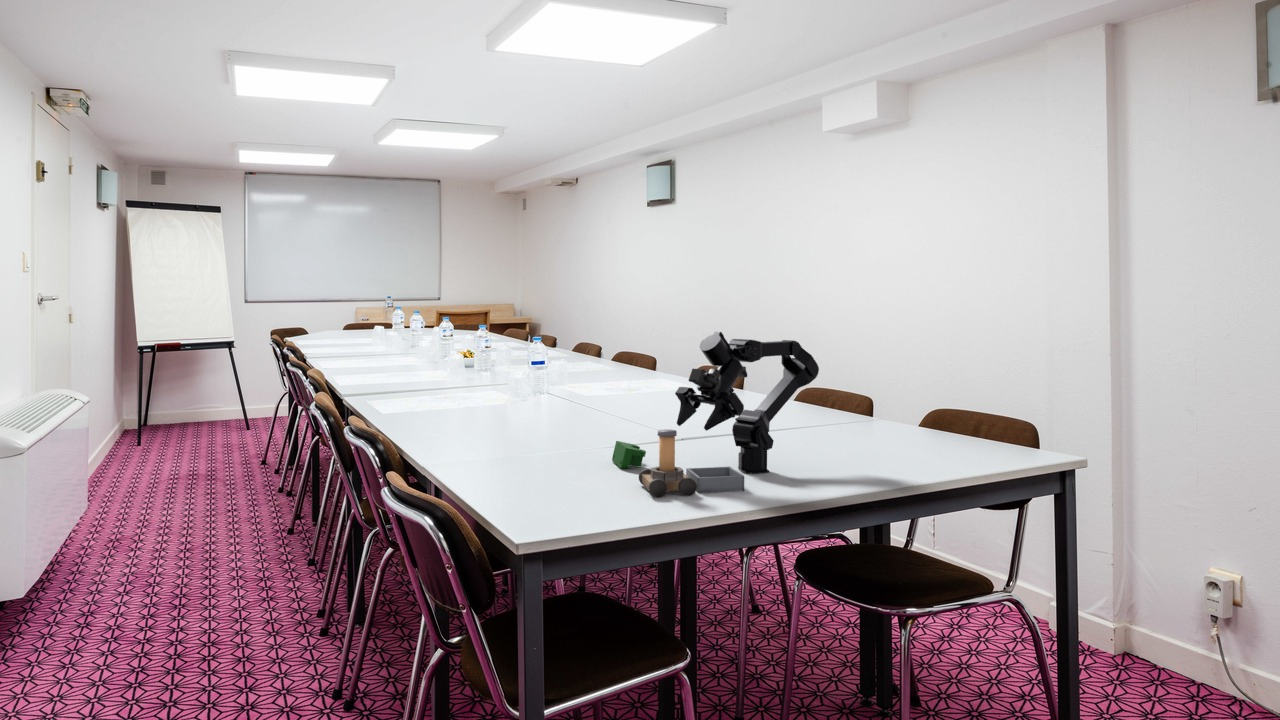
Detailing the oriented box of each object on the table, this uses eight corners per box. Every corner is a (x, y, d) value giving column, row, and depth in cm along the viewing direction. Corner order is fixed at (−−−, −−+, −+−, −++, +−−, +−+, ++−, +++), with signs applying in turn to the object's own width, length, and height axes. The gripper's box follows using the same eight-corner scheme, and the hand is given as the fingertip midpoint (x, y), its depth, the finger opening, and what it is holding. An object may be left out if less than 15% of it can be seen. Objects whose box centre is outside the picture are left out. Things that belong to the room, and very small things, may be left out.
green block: (637, 484, 218) (648, 456, 215) (615, 479, 217) (626, 451, 213) (631, 458, 229) (641, 431, 225) (611, 454, 227) (621, 427, 224)
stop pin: (673, 475, 194) (674, 429, 194) (678, 479, 190) (678, 432, 189) (655, 476, 193) (655, 429, 193) (659, 480, 189) (659, 432, 188)
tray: (729, 480, 202) (729, 466, 202) (744, 490, 192) (744, 476, 191) (686, 482, 200) (686, 468, 200) (698, 493, 189) (698, 478, 189)
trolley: (683, 483, 199) (683, 463, 199) (696, 495, 187) (696, 473, 187) (638, 485, 197) (638, 464, 197) (649, 497, 185) (649, 475, 184)
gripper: (681, 354, 207) (647, 401, 200) (736, 358, 193) (703, 409, 186) (702, 384, 213) (671, 430, 206) (758, 390, 199) (726, 440, 192)
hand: (691, 427), depth 197 cm, fingers open, 9 cm apart
